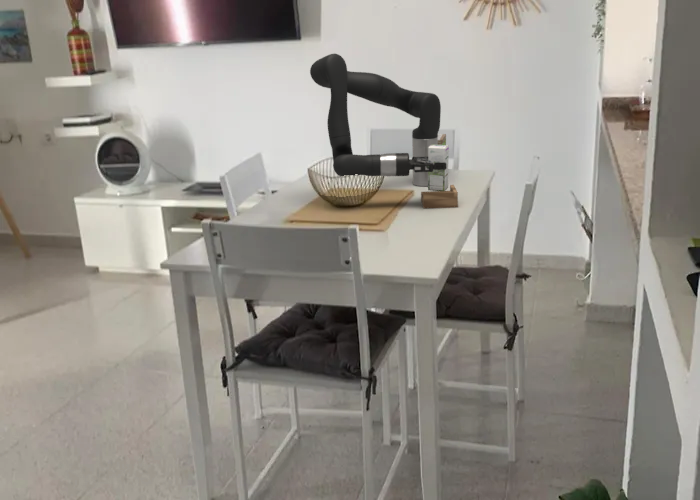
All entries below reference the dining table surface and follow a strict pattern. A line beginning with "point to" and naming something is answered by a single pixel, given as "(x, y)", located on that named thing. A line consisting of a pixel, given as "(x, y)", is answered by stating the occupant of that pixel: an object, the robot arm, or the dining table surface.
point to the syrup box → (438, 177)
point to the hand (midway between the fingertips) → (445, 163)
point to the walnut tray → (440, 198)
